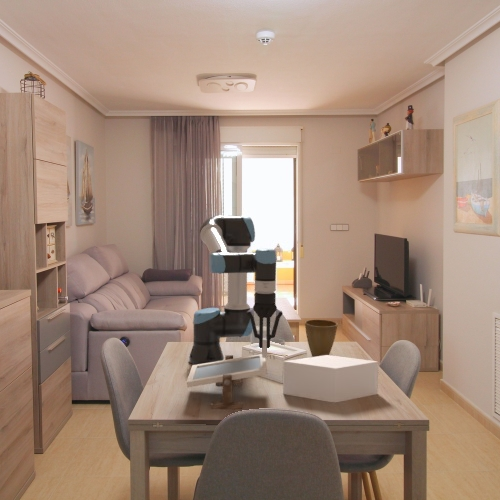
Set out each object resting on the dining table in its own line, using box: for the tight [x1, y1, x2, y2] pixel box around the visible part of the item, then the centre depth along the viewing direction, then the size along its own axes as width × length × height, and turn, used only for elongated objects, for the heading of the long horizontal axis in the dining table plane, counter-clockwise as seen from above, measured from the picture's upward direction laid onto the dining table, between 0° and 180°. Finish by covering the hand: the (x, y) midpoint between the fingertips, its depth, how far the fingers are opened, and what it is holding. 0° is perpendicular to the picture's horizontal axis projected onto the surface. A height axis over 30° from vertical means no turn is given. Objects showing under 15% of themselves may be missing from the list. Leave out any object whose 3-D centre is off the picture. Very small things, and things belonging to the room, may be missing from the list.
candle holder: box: [249, 325, 271, 345], centre depth 248 cm, size 10×10×12 cm
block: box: [282, 354, 379, 403], centre depth 193 cm, size 18×35×12 cm, turn 92°
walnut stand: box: [211, 354, 243, 410], centre depth 190 cm, size 10×27×11 cm, turn 1°
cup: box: [270, 338, 286, 346], centre depth 231 cm, size 8×8×10 cm
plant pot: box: [304, 319, 339, 357], centre depth 242 cm, size 15×15×16 cm
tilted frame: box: [186, 354, 269, 388], centre depth 190 cm, size 28×21×2 cm
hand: (264, 356), depth 190 cm, fingers closed
